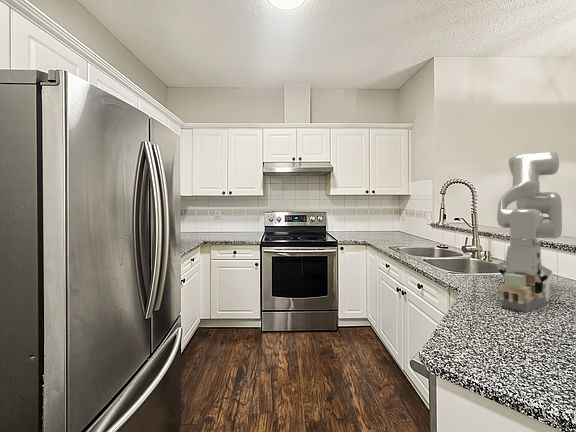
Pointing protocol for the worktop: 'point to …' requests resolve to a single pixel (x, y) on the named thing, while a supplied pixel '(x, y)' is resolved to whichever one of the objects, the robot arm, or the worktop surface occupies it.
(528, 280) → the salmon square box
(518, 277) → the pale green block
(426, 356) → the worktop surface
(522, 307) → the dock
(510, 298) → the long beige board
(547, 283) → the white cup
